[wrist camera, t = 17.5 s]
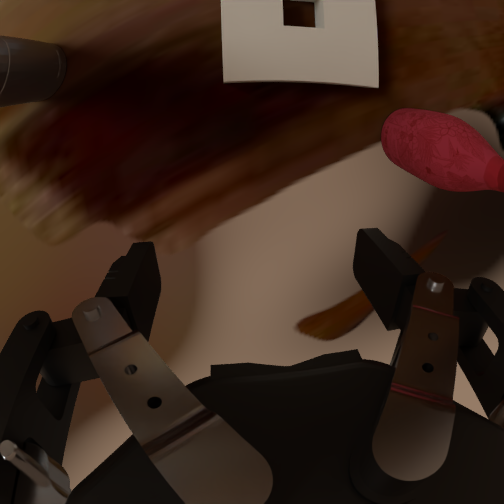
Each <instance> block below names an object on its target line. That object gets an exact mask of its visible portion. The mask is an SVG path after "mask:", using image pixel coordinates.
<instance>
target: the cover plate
mask: <svg viewBox="0 0 504 504" xmlns="http://www.w3.org/2000/svg"><path fill="white" fill-rule="evenodd" d="M292 1H305V2H314V5H315V24H316V28H310V27H297V26H284V24H283V2H282V0H221V21H222V52H223V79H224V83H241V82H301V83H321V84H335V85H346V86H356V87H365V88H379V69H378V36H377V19H376V6H375V0H292Z"/></svg>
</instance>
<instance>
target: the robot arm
mask: <svg viewBox="0 0 504 504" xmlns="http://www.w3.org/2000/svg"><path fill="white" fill-rule="evenodd" d="M66 64H67V63H66V57H65V54H64V52H63V51H62V49H61V48H60V47H59V46H57V45H55V44H51V43H46V42H41V41H35V40H29V39H22V38H15V37H8V36H0V107H5V106H11V105H17V104H23V103H30V102H37V101H42V100H45V99H47V98H49V97H51V96H52V95H53V94H54V93H55V92H56V91H57V90H58V88H59V87H60V85H61V83H62V82H63V79H64V77H65V73H66ZM353 271H354V276H355V278H356V280H357V282H358V283H359V285H360V286H361V288H362V290H363V291H364V293H365V295H366V296H367V298H368V299H369V301H370V303H371V304H372V306H373V308H374V309H375V311H376V312H377V314H378V316H379V317H380V319H381V321H382V322H383V324H384V326H385V328H386V329H387V330H388V331H389V330H395V329H400V330H401V332H400V335H399V337H398V341H397V344H396V347H395V350H394V354H393V357H392V360H391V363H390V365H388V364H385V363H382V362H378V361H374V360H366V359H362V358H361V356H360V354H359V352H358V349H356V350H350V351H344V352H337V353H331V354H324V355H321V356H318V357H315V358H313V359H310V360H307V361H304V362H301V363H298V364H295V365H292V366H274V365H264V364H255V363H237V364H224V365H223V364H221V365H211V376H209V377H205V378H202V379H199V380H197V381H194V382H192V383H190V384H188V385H186V386H185V385H184V384H183V383H182V382H181V381H180V380H179V379H178V377H177V376H176V375H175V374H174V373H173V372H172V371H171V369H170V368H169V367H168V366H167V365H166V364H165V362H164V361H163V360H162V359H161V358H160V356H159V355H158V354H157V353H156V352H155V350H154V349H153V348H152V347H151V346H150V344H149V343H148V341H149V337H150V333H151V328H152V324H153V320H154V316H155V312H156V308H157V304H158V301H159V297H160V293H161V277H160V272H159V268H158V263H157V258H156V253H155V248H154V244H153V242H139V243H133V244H132V246H131V248H130V250H129V251H128V253H127V255H126V256H121V257H120V258H119V259H118V260H116V261H115V262H114V263H113V264H112V266H111V268H110V270H109V273H107V275H106V277H105V279H104V280H103V282H102V284H101V286H100V288H99V290H98V292H97V293H96V295H95V297H94V298H90V299H87V300H85V301H83V302H81V303H80V304H79V305H78V306H76V307H75V309H74V310H73V312H72V318H69V319H65V320H61V321H57V322H52V320H51V318H50V316H49V314H48V313H47V312H45V311H34V312H31V313H29V314H27V315H25V316H24V317H22V318H21V319H20V320H19V321H18V323H17V324H16V326H15V328H14V329H13V331H12V333H11V335H10V336H9V338H8V340H7V342H6V344H5V346H4V347H3V349H2V351H1V353H0V504H504V291H503V290H502V289H501V288H500V286H498V285H497V284H496V283H495V282H493V281H492V280H490V279H487V278H483V277H476V278H473V279H472V281H471V284H470V286H469V289H458V288H454V286H453V283H452V282H451V281H450V280H449V279H448V278H447V277H445V276H443V275H441V274H438V273H434V272H425V271H424V270H423V269H422V268H421V267H420V266H419V264H418V263H417V262H416V261H415V260H414V259H413V258H411V256H410V255H409V254H408V253H406V251H405V250H404V249H403V248H402V247H401V246H400V245H399V244H397V243H396V242H394V241H392V240H390V239H388V238H387V237H386V236H385V235H384V234H383V233H382V232H381V231H380V230H379V229H378V228H367V229H359V231H358V233H357V239H356V247H355V254H354V260H353ZM488 326H489V327H490V328H491V330H492V331H493V332H494V334H495V335H496V336H497V338H498V342H499V347H498V350H497V352H496V354H495V356H494V355H493V353H492V352H491V350H490V349H489V347H488V346H487V344H486V343H485V341H484V340H483V339H482V338H483V336H484V334H485V332H486V330H487V328H488ZM457 362H458V364H459V365H460V367H461V369H462V371H463V372H464V374H465V376H466V378H467V379H468V381H469V382H470V385H471V386H472V388H473V390H474V392H475V394H476V396H477V397H478V399H479V401H480V403H481V405H482V407H483V409H484V411H485V413H486V415H487V417H488V419H489V420H488V419H487V418H485V417H483V416H481V415H479V414H477V413H475V412H474V411H472V410H470V409H468V408H466V407H464V406H463V405H461V404H459V403H457V402H455V401H454V400H453V392H454V384H455V376H456V367H457ZM39 373H40V374H41V375H42V379H41V382H40V385H39V387H38V390H37V393H36V387H35V386H36V380H37V378H38V375H39ZM96 378H100V379H101V381H102V383H103V384H104V386H105V388H106V390H107V392H108V394H109V395H110V397H111V399H112V401H113V402H114V404H115V406H116V407H117V409H118V411H119V412H120V414H121V416H122V417H123V419H124V421H125V422H126V424H127V425H128V427H129V428H130V430H131V431H132V433H133V435H131V437H129V438H128V439H127V440H126V441H125V442H124V443H123V444H122V445H121V446H120V447H119V448H118V449H117V450H115V451H114V453H112V454H111V455H110V456H109V457H108V458H107V459H106V460H105V461H104V462H102V463H101V464H100V465H99V466H98V467H97V468H96V469H95V470H94V471H93V472H91V473H90V474H89V475H88V476H87V477H86V478H85V479H84V480H82V481H81V482H80V483H79V484H78V485H77V486H76V487H75V488H74V489H73V490H72V492H71V489H70V480H69V476H68V474H67V472H66V470H65V469H64V468H63V467H62V461H63V456H64V450H65V446H66V440H67V436H68V431H69V427H70V422H71V418H72V414H73V410H74V406H75V402H76V398H77V394H78V391H79V387H80V383H81V382H82V381H87V380H91V379H96Z"/></svg>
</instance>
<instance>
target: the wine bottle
mask: <svg viewBox="0 0 504 504" xmlns="http://www.w3.org/2000/svg"><path fill="white" fill-rule="evenodd" d="M381 142H382V147H383V150H384V152H385V154H386V155H387V157H388V158H389V159H390V160H391V161H392V162H393V163H394V164H396V165H397V166H399V167H400V168H402V169H404V170H405V171H407V172H409V173H411V174H412V175H414V176H416V177H418V178H419V179H421V180H423V181H425V182H427V183H429V184H431V185H433V186H435V187H437V188H440V189H444V190H448V191H458V192H468V191H478V190H497V191H501V192H504V160H503V159H502V158H501V157H500V156H499V155H498V154H497V153H496V152H495V150H494V149H493V148H492V147H491V146H490V145H489V143H488V142H487V141H486V140H485V139H484V138H483V137H482V136H481V135H480V134H479V133H478V132H477V131H476V130H475V129H474V128H473V127H471V126H470V125H469V124H467V123H466V122H464V121H463V120H461V119H459V118H456V117H454V116H451V115H448V114H444V113H440V112H435V111H429V110H422V109H413V108H403V109H399V110H396V111H394V112H393V113H392V114H390V115H389V116H388V118H387V119H386V121H385V122H384V125H383V128H382V132H381Z"/></svg>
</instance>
